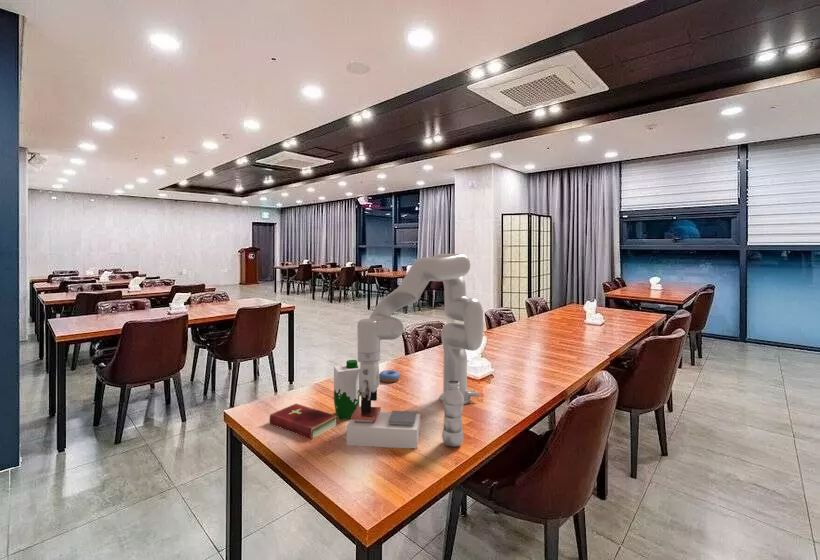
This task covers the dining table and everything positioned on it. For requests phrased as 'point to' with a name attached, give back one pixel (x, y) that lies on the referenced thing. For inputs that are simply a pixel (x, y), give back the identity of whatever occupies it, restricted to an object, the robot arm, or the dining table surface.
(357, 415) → the red square push button
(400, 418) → the grey square push button
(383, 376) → the doughnut
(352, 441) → the white button box
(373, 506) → the dining table surface
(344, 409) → the milk carton
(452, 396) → the plastic bottle
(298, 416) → the hardcover book
